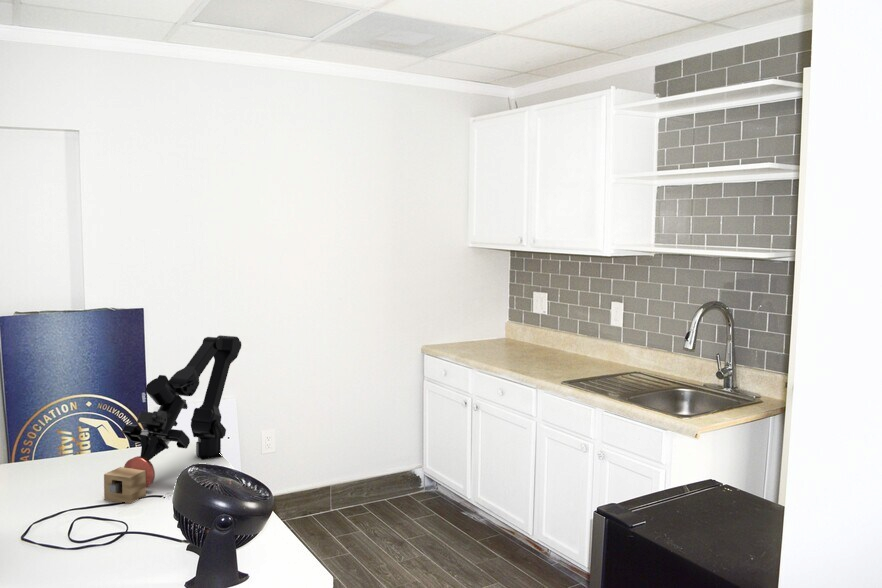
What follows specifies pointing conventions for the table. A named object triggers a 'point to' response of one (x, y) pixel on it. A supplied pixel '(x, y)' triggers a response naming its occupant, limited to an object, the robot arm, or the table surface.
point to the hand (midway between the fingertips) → (141, 463)
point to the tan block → (125, 484)
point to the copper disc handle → (139, 464)
